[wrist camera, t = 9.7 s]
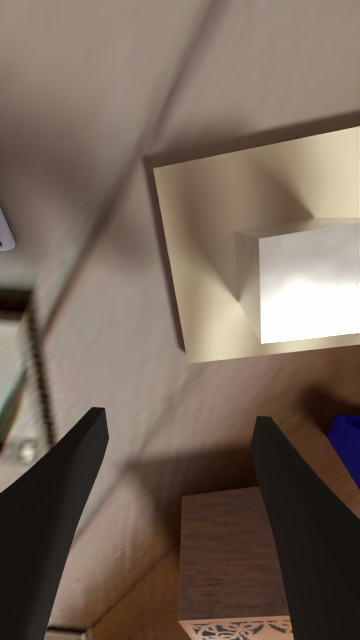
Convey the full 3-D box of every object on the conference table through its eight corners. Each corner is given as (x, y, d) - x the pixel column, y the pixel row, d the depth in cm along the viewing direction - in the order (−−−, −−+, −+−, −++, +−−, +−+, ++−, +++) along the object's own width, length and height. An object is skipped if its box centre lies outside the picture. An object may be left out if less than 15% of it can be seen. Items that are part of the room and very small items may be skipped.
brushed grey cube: (238, 302, 17) (261, 343, 12) (234, 230, 15) (258, 238, 10) (310, 293, 17) (369, 330, 11) (314, 217, 15) (389, 217, 9)
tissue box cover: (182, 493, 29) (178, 620, 20) (302, 477, 27) (359, 612, 18) (225, 587, 39) (235, 701, 30) (315, 580, 37) (357, 702, 27)
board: (188, 355, 20) (187, 363, 19) (155, 172, 15) (153, 168, 14) (357, 336, 19) (367, 343, 18) (390, 124, 14) (408, 116, 12)
